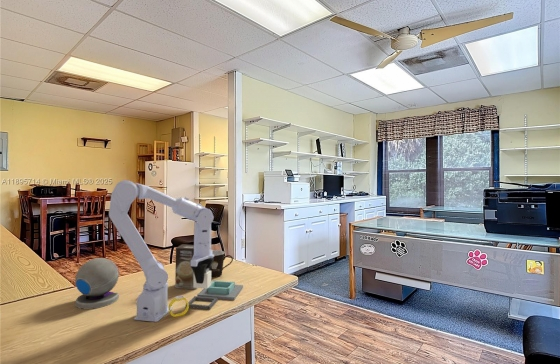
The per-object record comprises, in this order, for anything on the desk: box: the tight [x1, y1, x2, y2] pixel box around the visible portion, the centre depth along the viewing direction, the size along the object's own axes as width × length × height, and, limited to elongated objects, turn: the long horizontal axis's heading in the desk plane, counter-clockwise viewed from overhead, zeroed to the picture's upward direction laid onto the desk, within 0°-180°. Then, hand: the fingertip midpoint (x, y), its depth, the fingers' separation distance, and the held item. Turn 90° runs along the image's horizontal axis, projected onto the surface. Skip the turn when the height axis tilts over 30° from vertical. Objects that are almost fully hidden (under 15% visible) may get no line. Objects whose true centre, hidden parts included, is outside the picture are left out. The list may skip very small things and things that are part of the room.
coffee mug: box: [210, 250, 234, 279], centre depth 132 cm, size 12×9×10 cm
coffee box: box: [174, 243, 198, 290], centre depth 119 cm, size 9×6×16 cm
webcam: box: [74, 257, 120, 310], centre depth 104 cm, size 13×13×15 cm
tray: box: [185, 295, 219, 310], centre depth 103 cm, size 7×9×1 cm
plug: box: [193, 268, 212, 289], centre depth 102 cm, size 4×5×6 cm
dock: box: [196, 280, 244, 301], centre depth 113 cm, size 12×14×3 cm
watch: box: [168, 295, 190, 318], centre depth 94 cm, size 6×3×6 cm, turn 121°
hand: (202, 280), depth 102 cm, fingers closed on plug, 3 cm apart
